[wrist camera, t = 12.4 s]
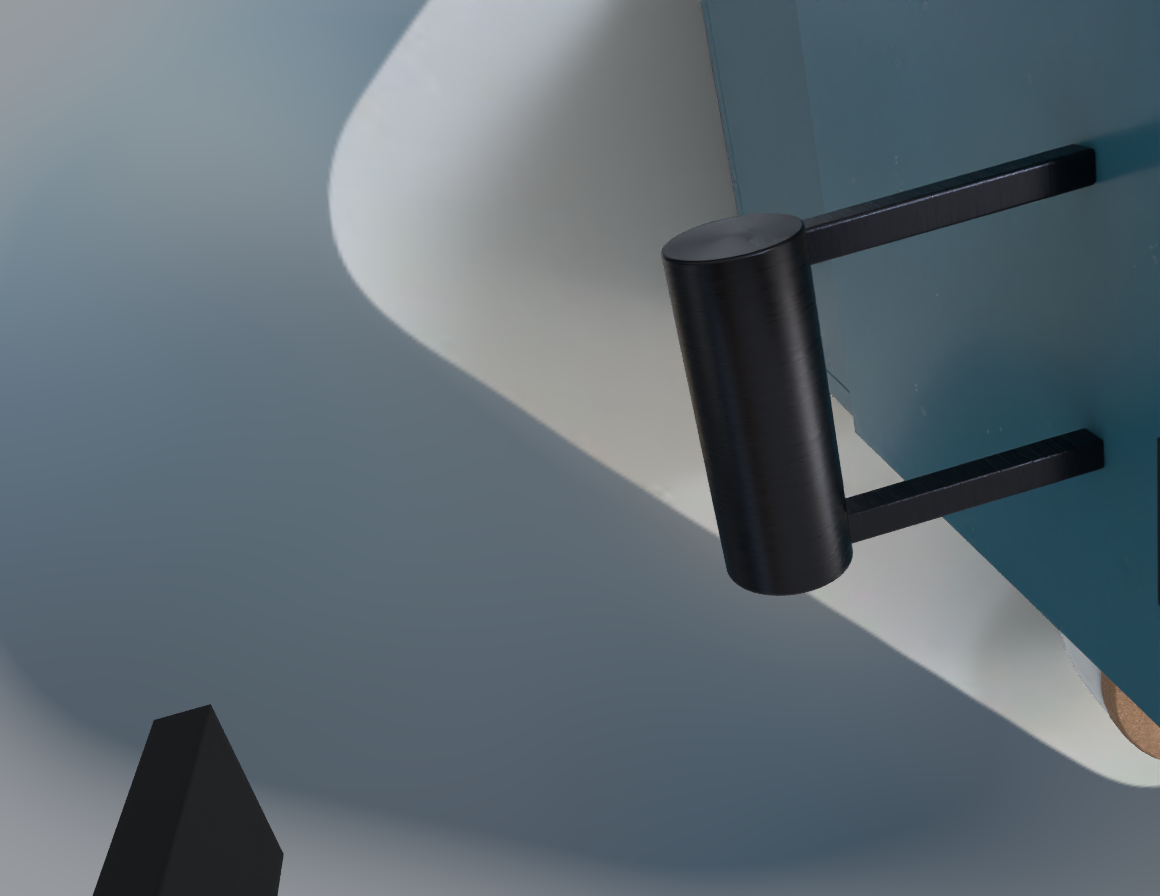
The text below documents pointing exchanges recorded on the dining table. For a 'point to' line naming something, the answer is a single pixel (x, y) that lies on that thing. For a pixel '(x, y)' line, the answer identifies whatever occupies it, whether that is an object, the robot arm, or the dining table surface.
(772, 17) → the box
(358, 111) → the dining table surface
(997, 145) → the freezer lid
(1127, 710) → the lidded bowl
